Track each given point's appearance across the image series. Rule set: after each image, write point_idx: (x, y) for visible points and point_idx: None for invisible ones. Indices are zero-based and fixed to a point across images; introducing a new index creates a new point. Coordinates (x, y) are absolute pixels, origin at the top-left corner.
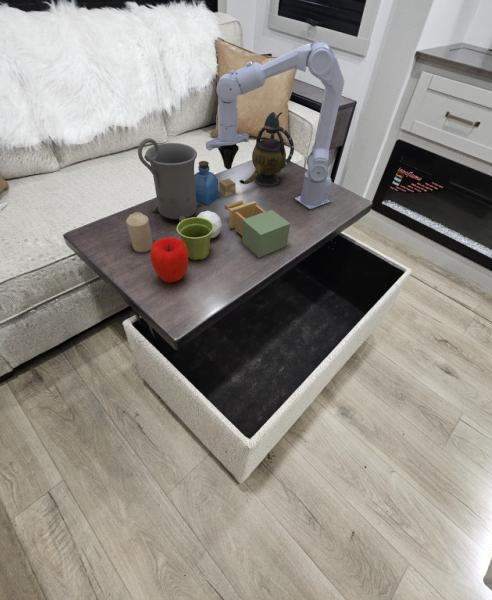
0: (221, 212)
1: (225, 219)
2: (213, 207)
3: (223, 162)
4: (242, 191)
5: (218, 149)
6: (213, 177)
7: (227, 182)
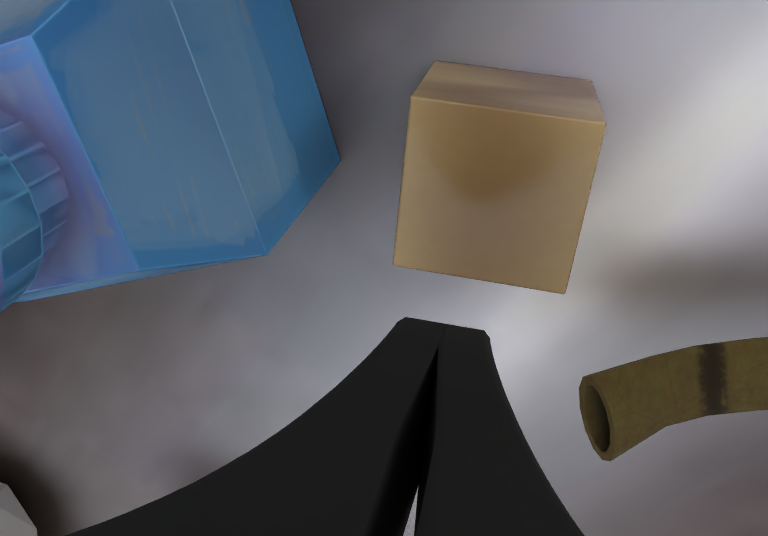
0: (212, 376)
1: (188, 458)
2: (190, 275)
3: (371, 352)
4: (683, 235)
5: (105, 528)
6: (160, 270)
7: (486, 210)
